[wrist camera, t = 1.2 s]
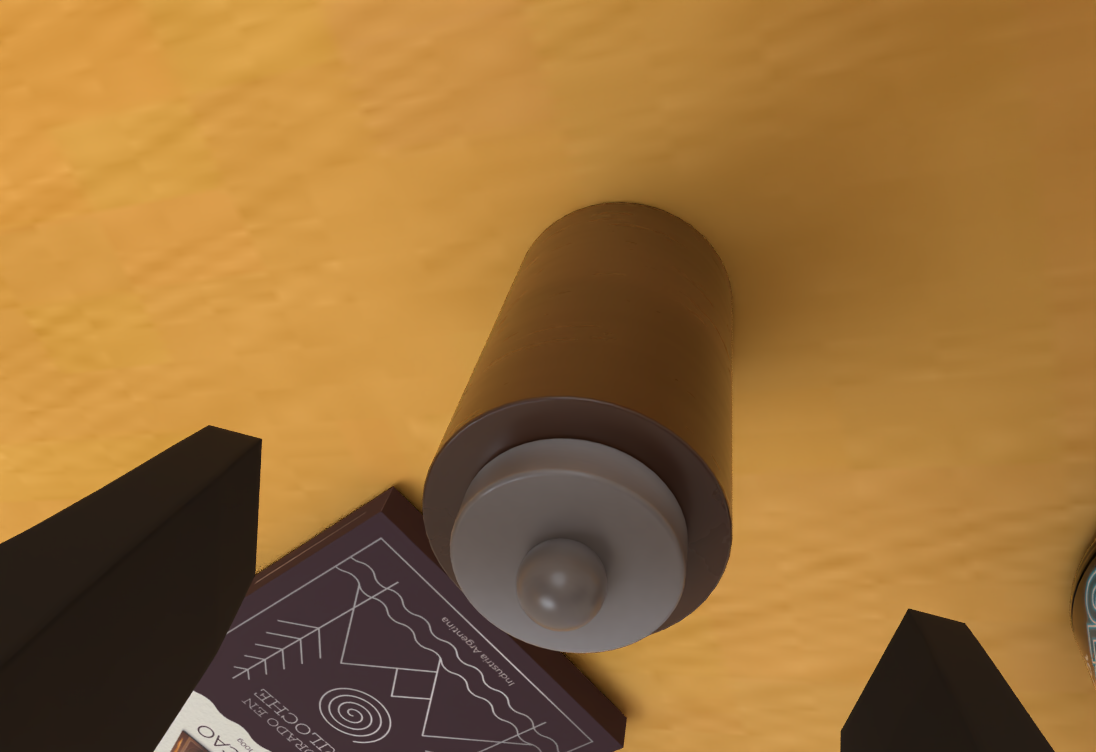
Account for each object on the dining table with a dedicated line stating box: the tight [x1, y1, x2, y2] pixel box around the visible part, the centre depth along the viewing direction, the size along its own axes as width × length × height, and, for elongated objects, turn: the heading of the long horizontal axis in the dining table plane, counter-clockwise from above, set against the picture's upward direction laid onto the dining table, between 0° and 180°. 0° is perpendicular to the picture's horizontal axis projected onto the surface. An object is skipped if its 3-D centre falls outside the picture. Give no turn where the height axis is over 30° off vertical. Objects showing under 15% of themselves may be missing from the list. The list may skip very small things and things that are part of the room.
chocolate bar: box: [154, 487, 627, 752], centre depth 28 cm, size 9×1×18 cm
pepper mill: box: [422, 203, 732, 653], centre depth 16 cm, size 4×4×9 cm
